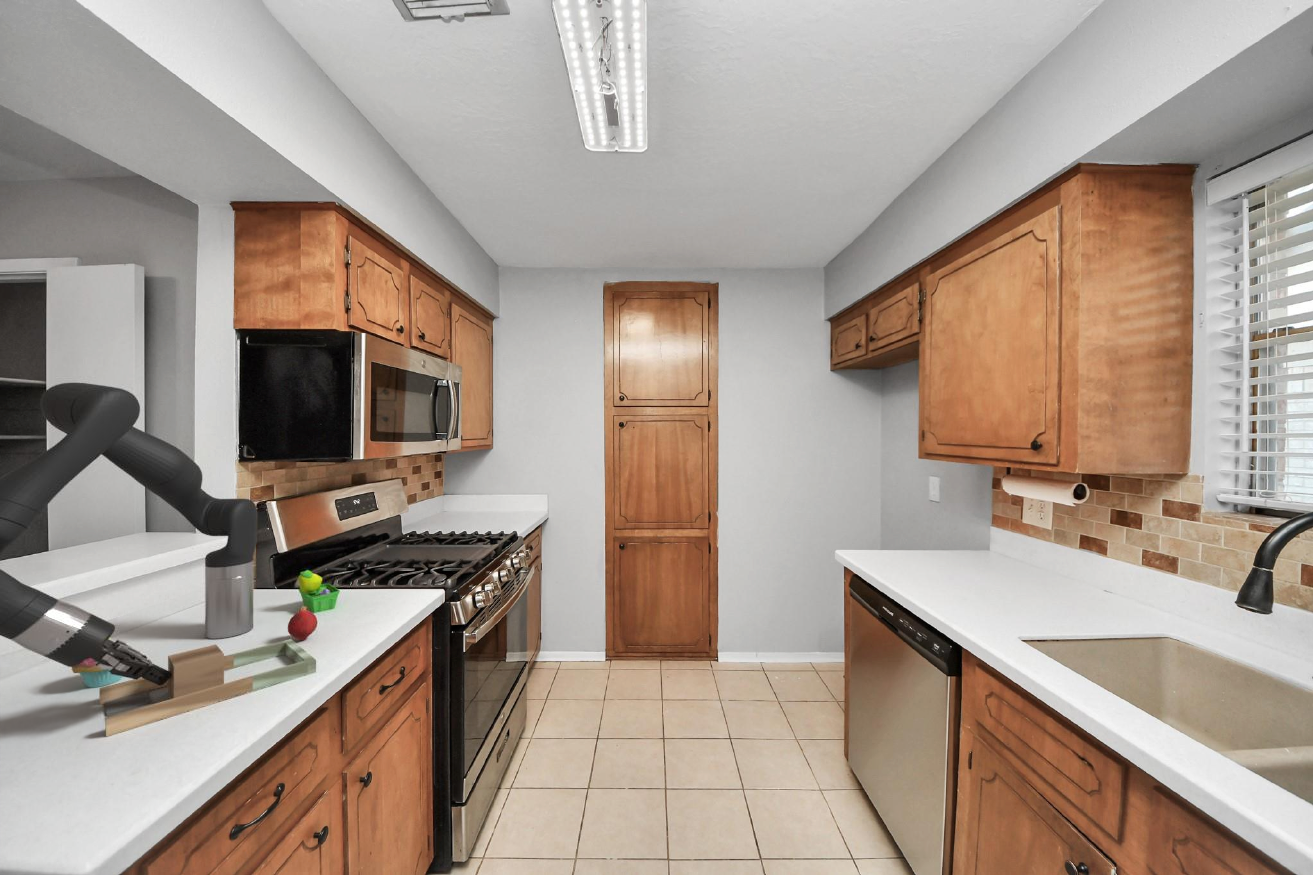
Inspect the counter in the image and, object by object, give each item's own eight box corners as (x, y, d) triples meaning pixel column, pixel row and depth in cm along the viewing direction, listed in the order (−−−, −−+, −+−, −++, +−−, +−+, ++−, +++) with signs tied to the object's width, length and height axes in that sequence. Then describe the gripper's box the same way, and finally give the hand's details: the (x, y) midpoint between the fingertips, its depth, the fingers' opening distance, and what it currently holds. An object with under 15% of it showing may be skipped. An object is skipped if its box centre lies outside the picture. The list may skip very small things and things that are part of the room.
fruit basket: (341, 608, 144) (341, 568, 144) (304, 616, 137) (304, 575, 137) (328, 600, 152) (328, 562, 152) (292, 607, 145) (292, 568, 145)
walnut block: (168, 692, 97) (168, 655, 97) (216, 679, 102) (216, 644, 102) (174, 704, 92) (174, 666, 92) (223, 690, 98) (223, 653, 98)
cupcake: (144, 675, 103) (144, 617, 103) (86, 695, 95) (86, 632, 95) (118, 669, 106) (118, 612, 106) (60, 688, 98) (60, 626, 98)
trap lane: (99, 701, 93) (99, 688, 93) (291, 649, 116) (291, 639, 116) (106, 736, 82) (106, 721, 82) (316, 671, 105) (316, 659, 105)
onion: (302, 646, 118) (302, 611, 118) (281, 644, 119) (281, 610, 119) (323, 636, 124) (323, 603, 124) (303, 634, 125) (303, 602, 125)
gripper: (90, 621, 82) (192, 670, 92) (87, 604, 91) (180, 650, 100) (39, 665, 78) (151, 712, 88) (40, 643, 87) (142, 687, 96)
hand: (166, 679), depth 94 cm, fingers closed
